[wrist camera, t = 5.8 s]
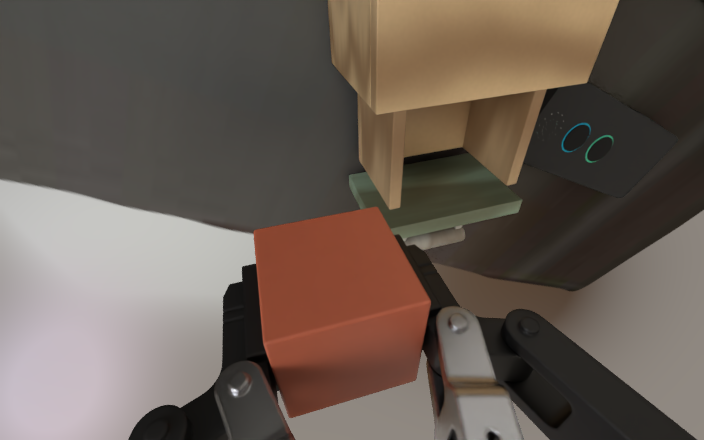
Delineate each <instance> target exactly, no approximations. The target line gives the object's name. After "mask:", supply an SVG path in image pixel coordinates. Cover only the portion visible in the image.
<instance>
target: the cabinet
mask: <svg viewBox="0 0 704 440" xmlns="http://www.w3.org/2000/svg"><path fill="white" fill-rule="evenodd" d="M618 2H619V0H328V12H329V27H330V42H331V57H332V64H333V65H334V66H335V67H336V69H337V70H338V71H339V72H340V73H341V74H342V75H343V77H344V78H345V79H346V80H347V81H348V82H349V84H350V85H351V86H352V87H353V88H354V89H355V91H356V92H357V93H358V94H359V95H360V96H361V97H362V99H363V100H364V101H365V102H366V103H367V104H368V106H369V107H370V108H371V109H372V110H373V112H374V113H375V114H376V115H378V114H385V113H392V112H398V111H405V110H412V109H418V108H425V107H431V106H438V105H445V104H451V103H458V102H465V101H471V100H478V99H484V98H491V97H498V96H504V95H511V94H518V93H524V92H531V91H537V90H544V89H551V88H557V87H564V86H571V85H577V84H584V83H587V81H588V79H589V76H590V73H591V71H592V68H593V66H594V63H595V61H596V58H597V56H598V53H599V51H600V48H601V46H602V43H603V40H604V38H605V35H606V33H607V30H608V28H609V25H610V23H611V20H612V18H613V15H614V13H615V10H616V8H617V5H618Z"/></svg>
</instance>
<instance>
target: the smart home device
mask: <svg viewBox="0 0 704 440" xmlns="http://www.w3.org/2000/svg"><path fill="white" fill-rule="evenodd" d="M677 141H678V139H677V137H676V136H675V135H673V134H672V133H670V132H668V131H667V130H665V129H663V127H662V126H661V125H659V124H658V123H656V122H654V121H653V120H651V119H649V118H648V117H646V116H645V115H643V114H641V113H640V112H638V111H635V110H633V109H631V108H629V107H628V106H626V105H625V104H623V103H621V102H620V101H618V100H617V99H615V98H613V97H612V96H610V95H608V94H607V93H605V92H604V91H602V90H600V89H599V88H597V87H595V86H594V85H592V84H591V83H589V82H587V83H584V84H577V85H571V86H564V87H557V88H551V89H547V90H546V93H545V96H544V99H543V102H542V105H541V108H540V111H539V115H538V118H537V121H536V124H535V127H534V130H533V133H532V136H531V139H530V142H529V145H528V148H527V151H526V155H525V158H524V161H523V163H524V164H526V165H529V166H532V167H535V168H537V169H540V170H543V171H545V172H548V173H551V174H554V175H556V176H559V177H562V178H564V179H567V180H570V181H573V182H575V183H578V184H581V185H583V186H586V187H589V188H590V189H593V190H596V191H599V192H601V193H605V194H608V195H610V196H613V197H616V198H623V197H624V196H625V195H627V194H628V193H629V192H630V191H631V189H632V188H633V187H634V186H635V185H636V184H637V183H638V182H639V181H640V180H641V179H642V178H643V177H644V176H645V175H646V174H647V173H648V172H649V171H650V170H651V169H652V168H653V167H654V166H655V165H656V164H657V163H658V162H659V161H660V160H661V159H662V158H663V157H664V156H665V155H666V153H667V152H668V151H669V150H670V149H671V148H672V147H673V146H674V145H675V144H676V143H677Z"/></svg>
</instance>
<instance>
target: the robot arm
mask: <svg viewBox="0 0 704 440" xmlns="http://www.w3.org/2000/svg"><path fill="white" fill-rule="evenodd" d="M394 236H395V238H396V240H397V241H398V243H399V245H400V247H401V249H402V250H403V252H404V254H405V256H406V257H407V259H408V261H409V263H410V264H411V266H412V268H413V270H414V272H415V273H416V275H417V277H418V279H419V280H420V282H421V284H422V286H423V287H424V289H425V291H426V293H427V294H428V296H429V298H430V300H431V306H430V311H429V316H428V321H427V327H426V332H425V337H424V342H423V347H422V350H424V352H425V354H426V357H427V363H426V365H427V373H428V379H429V386H430V394H431V400H432V407H433V414H434V423H435V429H434V439H435V440H524V438H523V435H522V432H521V428H520V425H519V422H518V419H517V416H516V413H515V410H514V406H513V403H512V401H513V402H514V403H515V404H516V405H517V406H518V407H519V408H520V409H521V410H522V411H523V412H524V413H525V414H526V415H527V416H528V418H529V419H530V420H532V422H533V423H534V424H535V425H536V426H537V427H538V428H539V429H540V430H541V431H542V432H543V433H544V434H545V435H546V436H547V437H548V438H549V439H550V440H696V439H695V438H694V437H693V436H692V435H690V434H689V433H688V432H687V431H685V430H684V429H683V428H681V427H680V426H679V425H678V424H677V423H675V422H674V421H673V420H671V419H670V418H669V417H667V416H666V415H665V414H664V413H663V412H661V411H660V410H658V409H657V408H656V407H655V406H654V405H653V404H651V403H650V402H649V401H647V400H646V399H645V398H644V397H642V396H641V395H640V394H639V393H637V392H636V391H635V390H634V389H632V388H631V387H630V386H629V385H627V384H626V383H625V382H623V381H622V380H621V379H620V378H618V377H617V376H616V375H615V374H613V373H612V372H611V371H609V370H608V369H607V368H606V367H604V366H603V365H602V364H601V363H600V362H598V361H597V360H596V359H594V358H593V357H592V356H591V355H589V354H588V353H587V352H585V351H584V350H583V349H582V348H581V347H579V346H578V345H577V344H576V343H574V342H573V341H572V340H571V339H569V338H568V337H567V336H565V335H564V334H563V333H562V332H560V331H559V330H558V329H557V328H555V327H554V326H553V325H552V324H550V323H549V322H548V321H546V320H545V319H544V318H543V317H541V316H540V315H538V314H537V313H535V312H532V311H530V310H525V309H516V310H513V311H511V312H510V313H508V315H507V316H506V319H500V318H482V317H477V316H475V315H474V314H473V313H471V312H470V311H469V310H467V309H465V308H462V307H460V306H459V304H458V303H457V302H456V300H455V298H454V297H453V295H452V294H451V292H450V291H449V289H448V287H447V286H446V284H445V283H444V281H443V280H442V278H441V276H440V275H439V273H437V270H436V269H435V267H434V265H433V264H432V262H431V261H430V259H429V258H428V256H427V254H426V253H425V252H424V251H423V250H421V249H420V248H419V247H417V246H416V245H415V244H413V245H409V246H406V244H405V242H404V241H403V239H402V237H401V236H400V235H399V234H396V235H394ZM242 278H243V279H242V280H243V282H239V283H234V284H230V285H229V287H228V289H227V291H226V293H225V295H224V297H223V312H224V313H223V360H222V370H221V373H220V375H219V377H218V379H217V380H216V382H215V383H214V385H213V386H212V387H211V388H210V389H209V390H208V391H207V392H205V393H204V394H202V395H201V396H199V397H198V398H196V399H194V400H193V401H191V402H190V403H188V404H186V405H185V406H183V407H181V408H179V407H177V406H174V405H164V406H160V407H158V408H155V409H154V410H152V411H150V412H149V413H147V414H146V415H145V416H144V417H143V418H142V419H141V420H140V421H139V422H138V423H137V424H136V426H135V427H134V429H133V431H132V433H131V435H130V437H129V440H295V438H294V436H293V434H292V433H291V431H290V429H289V427H288V425H287V423H286V420H285V418H284V416H283V414H282V412H281V409H280V407H279V405H278V397H277V391H279V388H278V385H277V382H276V379H275V376H274V374H273V371H272V368H271V365H270V362H269V359H268V356H267V353H266V351H265V348H264V345H263V336H262V325H261V313H260V302H259V290H258V278H257V267H256V264H252V265H248V266H243V267H242Z"/></svg>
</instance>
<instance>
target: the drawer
mask: <svg viewBox="0 0 704 440" xmlns="http://www.w3.org/2000/svg"><path fill="white" fill-rule="evenodd" d="M546 90H547V89H544V90H537V91H531V92H524V93H518V94H511V95H504V96H498V97H491V98H484V99H478V100H471V101H465V102H458V103H451V104H445V105H438V106H431V107H425V108H418V109H412V110H405V111H398V112H392V113H385V114H378V115H376V114H375V113H374V112H373V110H372V109H371V108H370V107H369V106H368V104H367V103H366V102H365V101H364V100H363V99H362V97H361V96H360V95H359V94H358V134H359V161H360V162H361V164H362V165H363V167H364V169H365V170H366V172H363V173H358V174H352V175H349V187H350V189H351V191H352V193H353V195H354V197H355V199H356V201H357V203H358V205H359V207H360V209H366V208H371V207H378V208H379V210H380V211H381V213H382V215H383V217H384V218H385V220H386V222H387V224H388V226H389V227H390V229H391V231H392V233H393V234H394V235H396V234H399V235H400V236H401V237H402V239H403V241H404V242H405V244H406V246H409V245H413V244H415V245H416V246H417V247H419V248H420V249H421V250H425V249H430V248H434V247H438V246H442V245H446V244H451V243H455V242H459V241H463V240H464V239H465V231H464V228H463V227H462V225H465V224H469V223H474V222H478V221H483V220H487V219H491V218H496V217H500V216H505V215H509V214H513V213H518V211H519V208H520V205H521V203H522V199H521V198H520V197H519V196H517V195H516V194H515V193H514V192H513V191H512V190H511V189H509V188H508V187H507V186H506V185H512V184H516V182H517V179H518V176H519V173H520V170H521V167H522V164H523V161H524V158H525V155H526V151H527V148H528V145H529V142H530V139H531V136H532V133H533V130H534V127H535V124H536V121H537V118H538V115H539V111H540V108H541V105H542V102H543V99H544V96H545V93H546ZM459 147H463V148H464V149H465V150H466V151H468V152H469V153H470V154H469V153H467V154H461V155H456V156H450V157H445V158H439V159H434V160H428V161H423V162H418V163H412V164H407V165H403V161H404V157H409V156H414V155H420V154H426V153H431V152H437V151H442V150H448V149H454V148H459ZM475 158H476V159H477V160H478V161H477V160H476V159H475ZM483 165H484V166H485V167H486V168H485V167H484V166H483ZM491 172H492V173H493V174H494V175H493V174H492V173H491ZM499 179H500V180H501V181H502V182H501V181H500V180H499Z"/></svg>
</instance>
